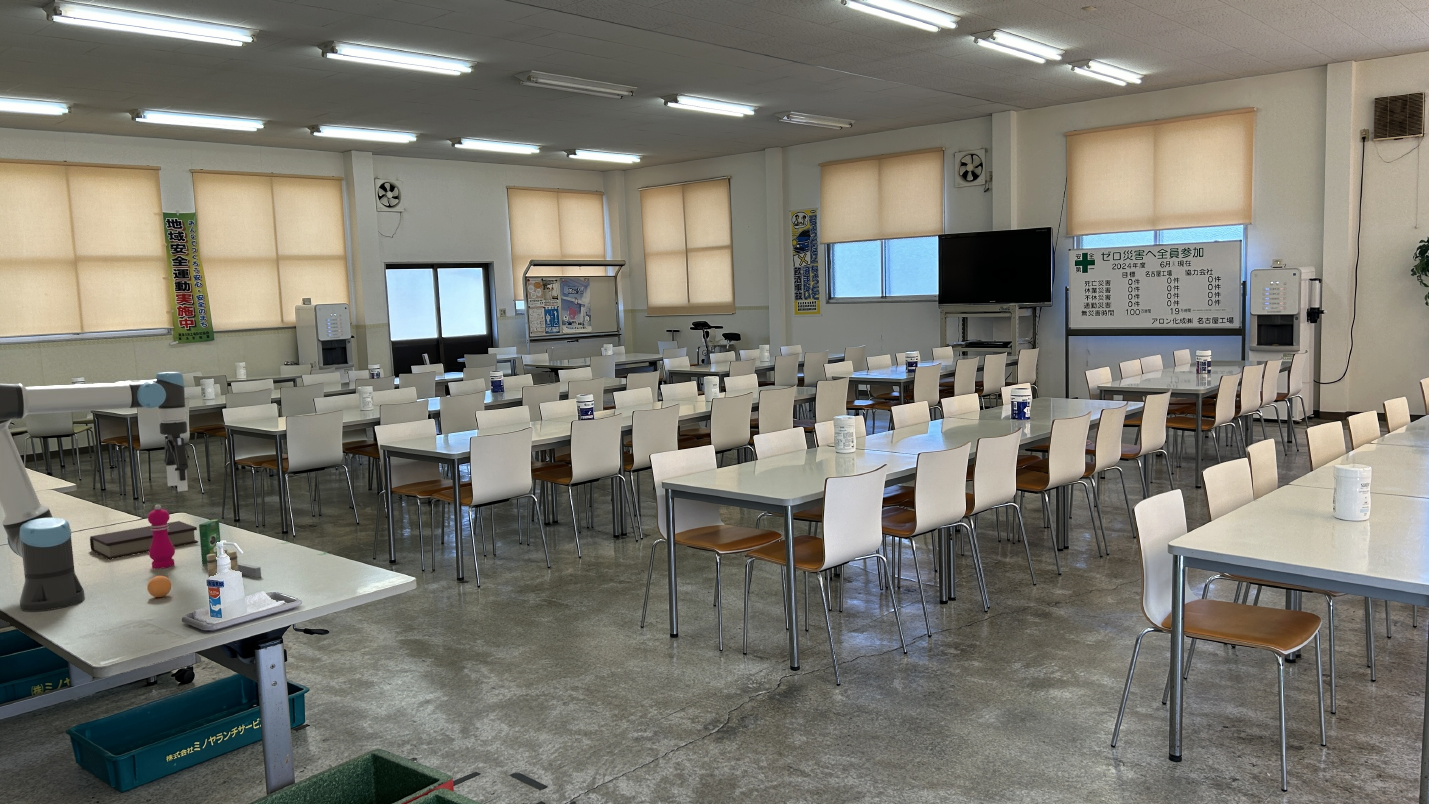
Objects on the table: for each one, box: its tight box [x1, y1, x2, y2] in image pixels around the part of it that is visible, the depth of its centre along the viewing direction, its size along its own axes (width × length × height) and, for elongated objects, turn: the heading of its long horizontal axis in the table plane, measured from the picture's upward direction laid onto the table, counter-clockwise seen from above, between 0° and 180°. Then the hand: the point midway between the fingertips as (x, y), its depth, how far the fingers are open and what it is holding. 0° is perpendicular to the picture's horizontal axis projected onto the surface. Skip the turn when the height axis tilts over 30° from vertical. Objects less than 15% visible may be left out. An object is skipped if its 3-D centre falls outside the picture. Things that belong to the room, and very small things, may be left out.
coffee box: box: [198, 519, 221, 565], centre depth 319 cm, size 8×3×13 cm, turn 179°
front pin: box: [206, 554, 218, 578], centre depth 293 cm, size 2×2×8 cm
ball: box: [146, 575, 172, 598], centre depth 280 cm, size 6×6×6 cm
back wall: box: [237, 561, 262, 579], centre depth 301 cm, size 2×14×3 cm, turn 56°
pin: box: [228, 550, 239, 571], centre depth 296 cm, size 2×2×8 cm
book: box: [89, 520, 199, 560], centre depth 343 cm, size 28×20×6 cm
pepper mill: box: [147, 504, 176, 570], centre depth 314 cm, size 7×7×20 cm
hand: (177, 488), depth 312 cm, fingers open, 13 cm apart
